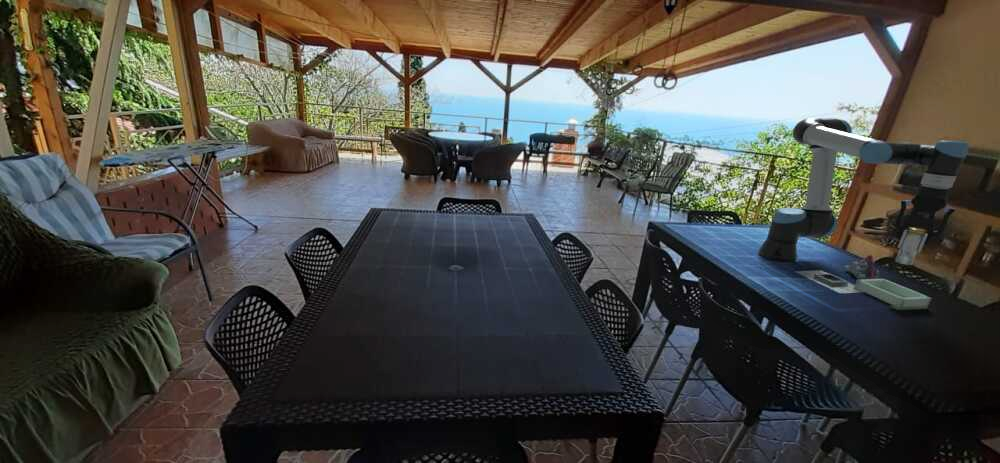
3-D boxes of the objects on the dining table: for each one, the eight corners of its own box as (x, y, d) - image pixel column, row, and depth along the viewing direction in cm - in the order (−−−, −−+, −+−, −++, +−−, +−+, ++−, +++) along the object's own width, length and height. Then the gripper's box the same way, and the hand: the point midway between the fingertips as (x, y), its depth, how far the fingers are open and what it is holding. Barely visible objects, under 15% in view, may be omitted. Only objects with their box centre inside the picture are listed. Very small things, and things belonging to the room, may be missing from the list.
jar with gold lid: (890, 260, 145) (904, 227, 141) (901, 259, 146) (914, 227, 142) (905, 265, 141) (919, 231, 136) (916, 265, 141) (930, 231, 137)
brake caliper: (891, 282, 158) (877, 257, 157) (859, 292, 162) (846, 268, 161) (876, 271, 168) (863, 248, 167) (846, 281, 173) (833, 259, 172)
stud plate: (793, 273, 167) (795, 268, 167) (820, 272, 170) (822, 267, 169) (839, 295, 149) (841, 289, 148) (868, 294, 151) (871, 288, 151)
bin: (853, 289, 155) (856, 279, 153) (879, 288, 157) (883, 278, 156) (898, 310, 140) (902, 299, 138) (926, 308, 142) (931, 298, 141)
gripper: (898, 182, 138) (875, 244, 146) (973, 193, 126) (943, 259, 133) (901, 180, 143) (878, 240, 150) (973, 190, 130) (944, 254, 138)
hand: (909, 249), depth 142 cm, fingers closed on jar with gold lid, 4 cm apart
